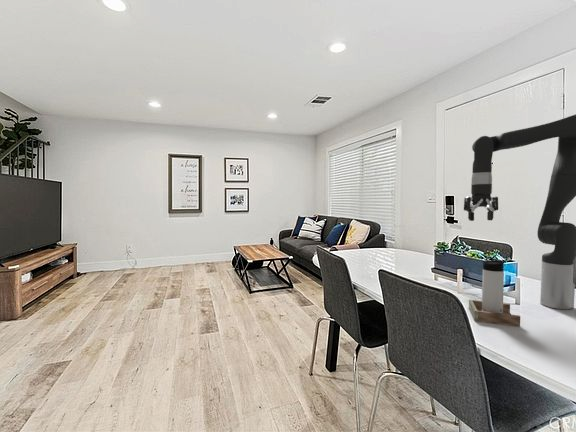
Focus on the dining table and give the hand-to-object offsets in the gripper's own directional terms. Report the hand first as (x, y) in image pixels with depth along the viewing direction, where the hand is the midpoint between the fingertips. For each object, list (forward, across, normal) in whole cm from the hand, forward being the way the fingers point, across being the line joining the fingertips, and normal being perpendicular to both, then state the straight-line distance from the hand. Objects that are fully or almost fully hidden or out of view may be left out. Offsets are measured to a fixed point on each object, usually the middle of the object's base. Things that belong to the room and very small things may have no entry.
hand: (480, 220), depth 130 cm
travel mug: (+33, +13, +24) cm, 43 cm away
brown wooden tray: (+33, +13, +24) cm, 43 cm away
